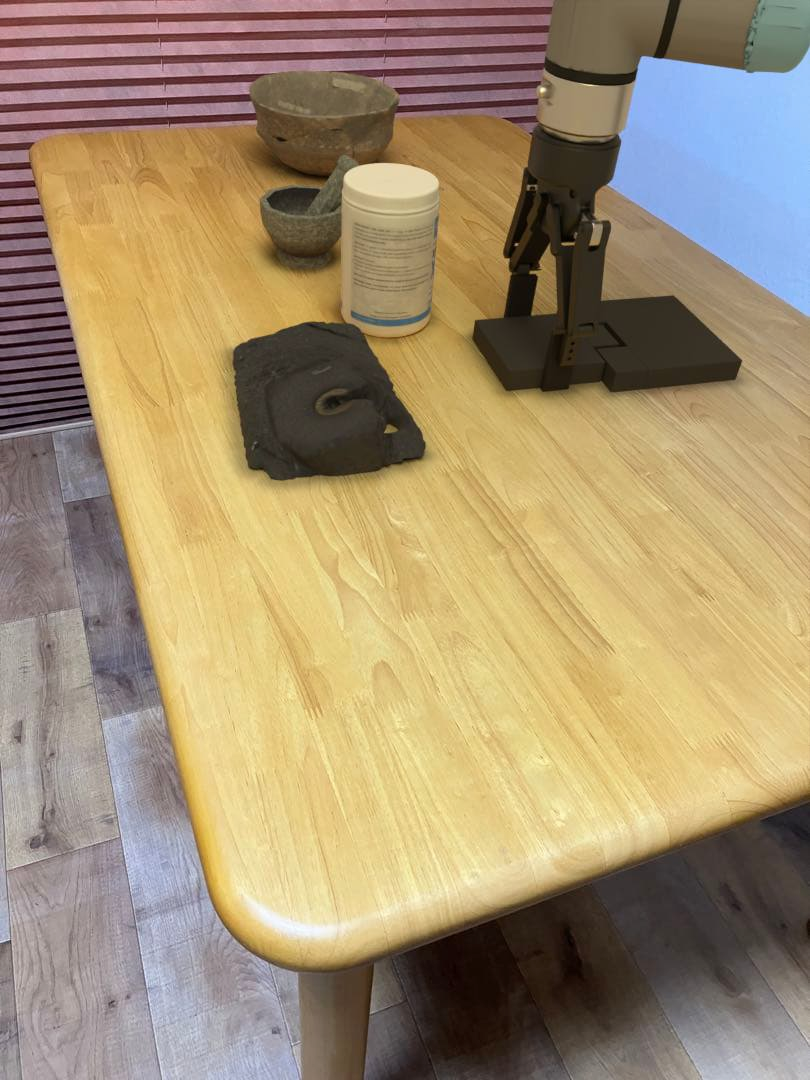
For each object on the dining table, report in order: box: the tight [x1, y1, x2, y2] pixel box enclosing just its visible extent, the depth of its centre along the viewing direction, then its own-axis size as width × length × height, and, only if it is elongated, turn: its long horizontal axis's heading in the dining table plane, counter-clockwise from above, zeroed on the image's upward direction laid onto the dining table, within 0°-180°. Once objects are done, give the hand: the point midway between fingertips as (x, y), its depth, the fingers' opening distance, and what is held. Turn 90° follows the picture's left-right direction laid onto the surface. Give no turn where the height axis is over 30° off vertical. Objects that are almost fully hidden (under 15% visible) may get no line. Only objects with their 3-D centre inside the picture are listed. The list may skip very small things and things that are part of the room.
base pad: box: [596, 294, 743, 393], centre depth 91 cm, size 14×14×2 cm
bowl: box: [248, 69, 401, 177], centre depth 122 cm, size 21×21×10 cm
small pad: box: [472, 312, 619, 392], centre depth 88 cm, size 13×10×2 cm
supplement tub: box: [340, 162, 441, 339], centre depth 88 cm, size 10×10×15 cm
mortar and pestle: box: [259, 155, 360, 270], centre depth 98 cm, size 11×9×12 cm
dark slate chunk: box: [232, 320, 427, 482], centre depth 78 cm, size 15×22×5 cm
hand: (533, 360), depth 88 cm, fingers closed on small pad, 10 cm apart
